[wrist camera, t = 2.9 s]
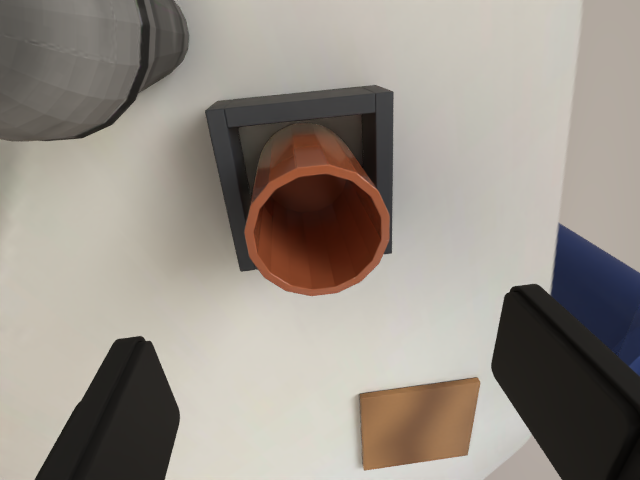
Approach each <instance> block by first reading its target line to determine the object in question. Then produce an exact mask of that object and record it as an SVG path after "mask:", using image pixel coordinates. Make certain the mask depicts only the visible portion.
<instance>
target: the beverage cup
mask: <svg viewBox="0 0 640 480" xmlns="http://www.w3.org/2000/svg"><path fill="white" fill-rule="evenodd" d="M188 42H189V33H188V28H187V23H186V20H185V18H184V16H183V14H182V12H181V10H180V8H179V6H178V5H177V4H176V3H175V1H174V0H0V139H4V140H9V141H36V140H38V141H53V140H66V139H78V138H84V137H86V136H88V135H90V134H93V133H95V132H97V131H99V130H101V129H104V128H106V127H108V126H110V125H112V124H113V123H114V122H115V121H116V120H117V119H118V118H119V117H120V116H121V115H122V114H123V113H124V112H125V111H126V110H127V109H128V108H129V107H130V105H131V104H132V103H133V102H134V101H135V100H136V97H137V95H138V93H140V92H141V91H143V90H145V89H146V88H148V87H149V86H151V85H153V84H154V83H156V82H157V81H159V80H161V79H162V78H164V77H165V76H167V75H169V74H170V73H171V72H172V71H173V70H174V69H175V68H176V67H177V66H178V65H179V64H180V63H181V62H182V61H183V59H184V57H185V55H186V52H187V50H188Z"/></svg>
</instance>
